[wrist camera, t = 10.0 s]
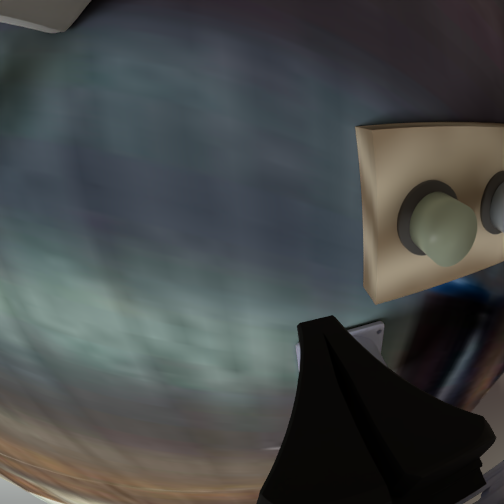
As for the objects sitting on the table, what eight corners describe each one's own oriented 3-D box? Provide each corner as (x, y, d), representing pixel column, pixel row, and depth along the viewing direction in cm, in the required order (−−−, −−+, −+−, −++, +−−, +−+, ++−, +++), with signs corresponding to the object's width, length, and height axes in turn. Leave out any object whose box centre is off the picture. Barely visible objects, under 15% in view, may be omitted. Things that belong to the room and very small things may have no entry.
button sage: (452, 242, 17) (472, 258, 15) (407, 254, 18) (426, 273, 15) (456, 188, 16) (480, 200, 13) (410, 196, 16) (432, 210, 14)
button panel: (535, 232, 22) (550, 243, 19) (363, 286, 22) (377, 308, 20) (544, 127, 16) (563, 134, 14) (355, 126, 17) (375, 130, 14)
